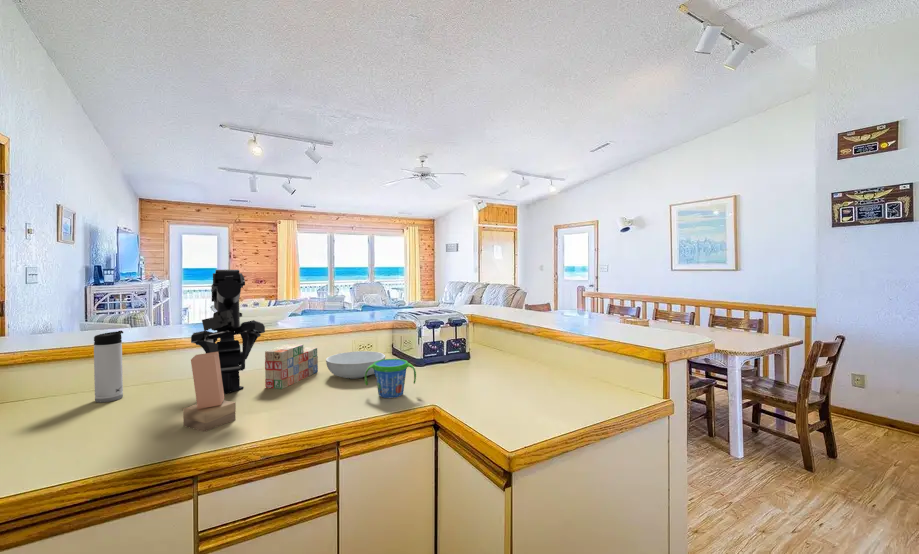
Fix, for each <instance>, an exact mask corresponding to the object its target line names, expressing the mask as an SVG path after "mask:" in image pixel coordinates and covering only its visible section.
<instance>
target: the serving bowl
mask: <svg viewBox="0 0 919 554" xmlns="http://www.w3.org/2000/svg"><path fill="white" fill-rule="evenodd" d="M384 359H386V355H385V354H384V353H382V352H379V351H369V350H359V351H347V352H341V353H336V354H332V355H329V356H328V357H326V358H325V364H326V366H327V369H328V370H329V372H330V373H331V374H332V375H334V376H336V377H339V378H344V379H349V378H350V380H351V379H352V380H354V379H356V378H357V379H362V378H363V377H364V378H365V373H366V370H367V369H368V367H369V366H371V365H372V364H373V363H374V362H376V361H379V360H384ZM371 375H375V373H374V369H373V368H370V369H369V370H368V372H367V377H369V376H371ZM364 378H363V379H364ZM357 379H356V380H357Z"/></svg>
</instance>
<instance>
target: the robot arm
mask: <svg viewBox="0 0 919 554" xmlns="http://www.w3.org/2000/svg"><path fill="white" fill-rule="evenodd" d="M244 286H246V281H245V276H244V275H243V272H241V273H240V270H239V269H215V273H212V284H211V302H213V308H214V310H215V311H216V312H215V311H214V312H213V314H212V315H213V316H212V317H208V318H205V319H201V322H202V326H203V330H202V331H197V332H193V333H192V334H191V336H190V343H192V344H195V345H196V346H200V347H201V348H202V349H203V351H204V353H212V352H218V353H219V360H220V368H221V375H222V383H223V390H224V395H226V394H228V393H229V394H230V393H233V392H235V391H238V390H243V389H244V386H242V385H240V383H241V381H240V380H241V379H240V371H242V372H243V371H244V370H246V360H247V359H248V357H249V355H250V353H251V351H252V349H253V347H254V345H255V343H256V342H257V339H258V338H259V337H261V336H262V335H261V334H264V333H266V329H265V328H266V327H265V324H264V323H263V322H260V321H257V320H254V319H253V320H249V321H243V322H242V323H240V322H241V321H240V318H241V317H243V313H242V312H240V299H241V298H240V296H241V291H242V288H244ZM209 330H211V331H209ZM236 335H240V337H241V340H242V350H241V344H240V341H239V340H238V339H236V340H235V336H236ZM218 339H219V341H218Z"/></svg>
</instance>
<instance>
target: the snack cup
mask: <svg viewBox="0 0 919 554" xmlns="http://www.w3.org/2000/svg"><path fill="white" fill-rule="evenodd" d="M370 368H373V369H374V376H375V381H376V388H377V394H378V396H380V397H381V398H384V399H392V398H398V397H401V396H402V395H404V390H405V383H406V375H407V373H406V372H407V370H408V369H407V368H411V369H412V370H413V385H415V384H416V380H417V371H416V368H415V366H413V364H411V363H410V362H409V361H408V360H405V359H402V358H385V359H384V360H379V361H376V362H374V363H373V364H372V365H371V366H369V367H368V369H367V370H366V373H365V377H364V384H365V386H368V385H369V382H368V376H367V372H368V370H369V369H370Z"/></svg>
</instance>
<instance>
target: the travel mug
mask: <svg viewBox="0 0 919 554" xmlns="http://www.w3.org/2000/svg"><path fill="white" fill-rule="evenodd" d="M122 334H124V331H123V330H118V331H111V332H105V333H104V332H103V333H100V334H96V335H95V336H94V337H93V369H94V373H93V374H94V375H93V376H94V380H93V381H94V402H95V403H110V402H114V401H118V400H120V399H122V398H123V397H124V393H123V391H124V389H123V388H124V387H123V386H124V385H123V384H124V382H123V381H124V379H123V378H124V377H123V345H122V343H123V342H122V341H123V340H122V338H123V337H122Z"/></svg>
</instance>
